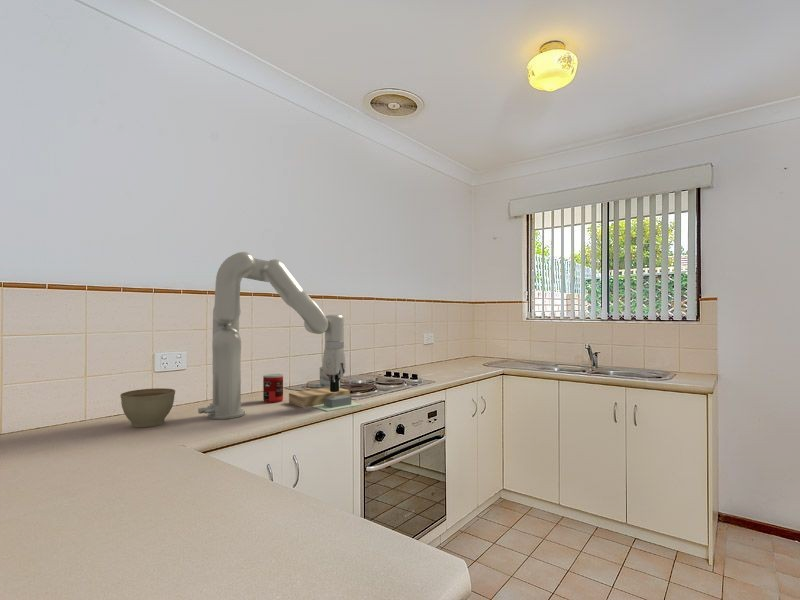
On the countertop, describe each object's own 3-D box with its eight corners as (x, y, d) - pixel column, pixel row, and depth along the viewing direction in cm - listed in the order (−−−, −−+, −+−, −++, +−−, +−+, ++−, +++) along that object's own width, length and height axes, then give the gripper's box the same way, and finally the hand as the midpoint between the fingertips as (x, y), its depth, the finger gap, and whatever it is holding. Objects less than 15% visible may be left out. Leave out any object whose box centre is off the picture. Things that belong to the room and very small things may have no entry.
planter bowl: (151, 431, 140) (151, 397, 141) (108, 429, 144) (108, 395, 144) (185, 419, 156) (185, 388, 156) (145, 417, 159) (146, 387, 160)
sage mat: (327, 411, 167) (327, 410, 167) (311, 406, 175) (311, 406, 175) (361, 405, 177) (361, 404, 177) (345, 401, 186) (345, 400, 186)
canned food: (263, 400, 189) (263, 374, 189) (282, 398, 191) (282, 373, 192) (263, 403, 182) (263, 376, 182) (283, 402, 184) (283, 375, 184)
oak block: (303, 407, 174) (303, 397, 174) (289, 403, 183) (288, 393, 183) (349, 399, 188) (349, 390, 188) (334, 395, 197) (334, 386, 197)
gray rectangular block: (323, 397, 176) (323, 405, 176) (332, 400, 172) (332, 407, 171) (342, 394, 182) (342, 402, 182) (351, 396, 178) (351, 404, 178)
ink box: (340, 392, 205) (340, 366, 205) (333, 394, 201) (333, 368, 201) (326, 390, 210) (326, 365, 210) (319, 392, 205) (319, 366, 206)
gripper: (316, 345, 181) (316, 390, 180) (337, 347, 170) (337, 395, 169) (331, 344, 186) (332, 388, 185) (353, 346, 175) (353, 392, 174)
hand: (334, 391), depth 177 cm, fingers closed
